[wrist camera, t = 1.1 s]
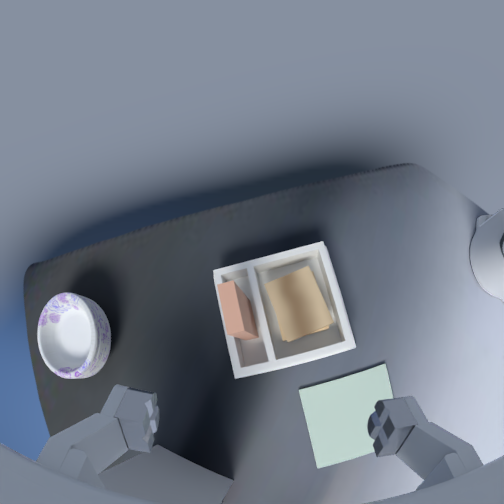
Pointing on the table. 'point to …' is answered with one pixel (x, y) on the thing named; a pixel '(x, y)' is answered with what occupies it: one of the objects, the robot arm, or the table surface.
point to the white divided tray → (270, 340)
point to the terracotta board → (237, 311)
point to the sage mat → (344, 414)
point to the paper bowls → (73, 336)
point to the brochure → (166, 479)
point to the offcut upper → (298, 304)
